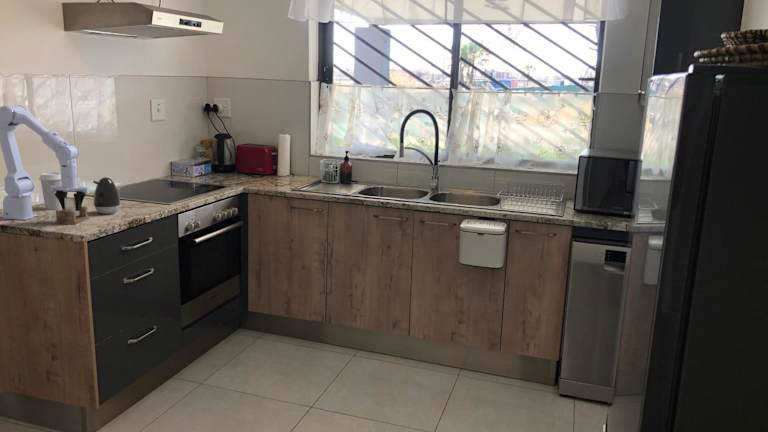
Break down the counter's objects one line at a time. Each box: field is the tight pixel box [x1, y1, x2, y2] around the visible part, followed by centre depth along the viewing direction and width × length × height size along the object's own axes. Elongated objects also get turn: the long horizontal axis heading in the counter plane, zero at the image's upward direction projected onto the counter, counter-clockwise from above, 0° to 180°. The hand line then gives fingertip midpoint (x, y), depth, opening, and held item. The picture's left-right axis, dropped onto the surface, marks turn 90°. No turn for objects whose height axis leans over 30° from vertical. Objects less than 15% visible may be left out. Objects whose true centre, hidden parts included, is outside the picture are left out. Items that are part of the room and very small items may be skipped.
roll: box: [64, 196, 80, 216], centre depth 237 cm, size 5×5×7 cm
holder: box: [54, 205, 90, 226], centre depth 237 cm, size 8×11×6 cm
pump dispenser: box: [92, 176, 121, 215], centre depth 252 cm, size 10×10×15 cm
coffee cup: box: [38, 171, 62, 211], centre depth 257 cm, size 10×10×15 cm
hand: (71, 210), depth 237 cm, fingers closed on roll, 5 cm apart
